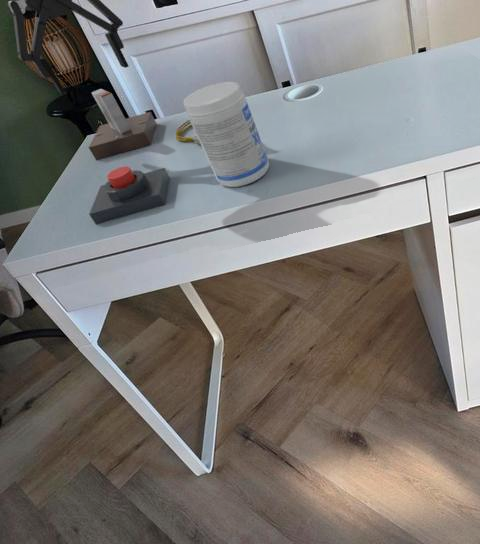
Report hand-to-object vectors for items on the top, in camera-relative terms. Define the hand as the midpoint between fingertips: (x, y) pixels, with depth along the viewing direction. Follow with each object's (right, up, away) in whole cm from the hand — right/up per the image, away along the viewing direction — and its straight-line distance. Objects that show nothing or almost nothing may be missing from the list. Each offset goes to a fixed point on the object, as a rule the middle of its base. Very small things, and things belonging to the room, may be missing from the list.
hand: (94, 79), depth 100 cm
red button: (+14, -24, -16) cm, 32 cm away
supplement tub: (+34, -23, -14) cm, 44 cm away
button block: (+15, -27, -14) cm, 34 cm away
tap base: (+3, -10, +9) cm, 14 cm away
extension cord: (+22, -10, +4) cm, 24 cm away
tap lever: (+2, -8, +7) cm, 11 cm away
